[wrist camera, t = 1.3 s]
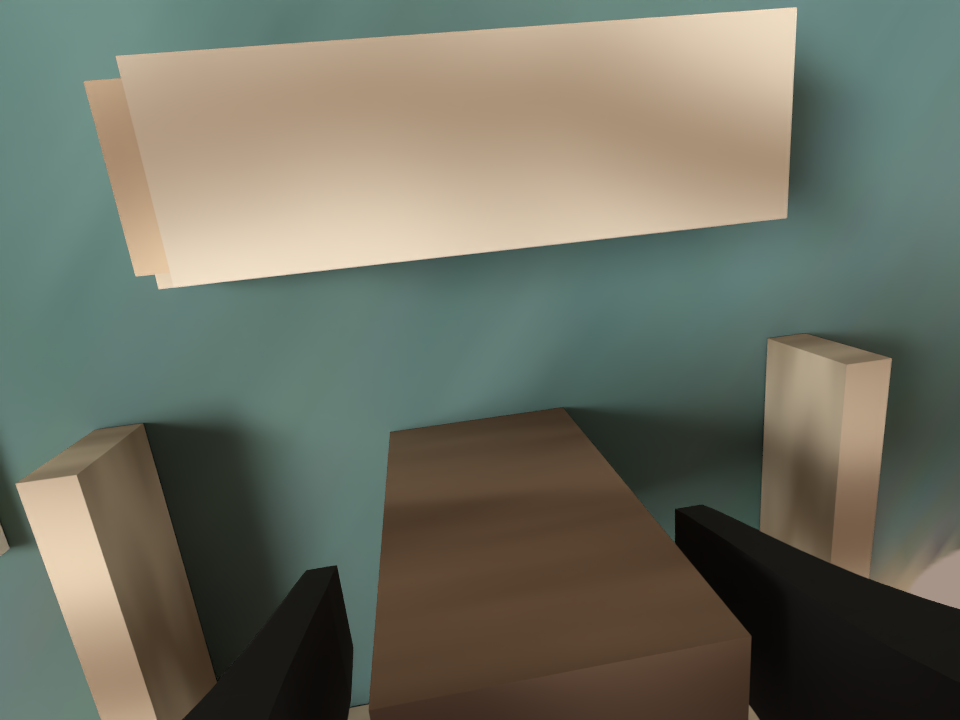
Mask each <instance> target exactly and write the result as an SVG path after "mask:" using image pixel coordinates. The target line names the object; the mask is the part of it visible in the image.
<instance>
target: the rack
mask: <svg viewBox="0 0 960 720" xmlns="http://www.w3.org/2000/svg"><path fill="white" fill-rule="evenodd" d="M891 362H892V358H889V357H886V356H882V355H879V354H875V353H872V352H868V351H865V350H861V349H858V348H854V347H851V346H847V345H844V344H841V343H837V342H834V341H830V340H827V339H823V338H820V337H816V336H813V335H809V334H806V333H804V334H797V335H789V336H782V337H775V338H768V342H767V367H766V392H765V416H764V441H763V465H762V490H761V515H760V531H761V532H763V533H765V534H767V535H769V536H771V537H774V538H776V539H778V540H780V541H782V542H784V543H786V544H788V545H791V546H793V547H795V548H797V549H799V550H802V551H804V552H806V553H808V554H810V555H813V556H815V557H817V558H820V559H822V560H824V561H827V562H829V563H831V564H834V565H836V566H839V567H841V568H843V569H846V570H848V571H851V572H853V573H855V574H858V575H860V576H863V577H866V578H868V579H869V573H870V564H871V554H872V544H873V535H874V525H875V515H876V506H877V496H878V487H879V477H880V467H881V458H882V448H883V439H884V429H885V419H886V410H887V400H888V391H889V381H890V371H891ZM16 487H17V490H18V492H19V495H20V498H21V501H22V503H23V506H24V509H25V512H26V514H27V517H28V520H29V523H30V525H31V528H32V531H33V534H34V536H35V539H36V542H37V545H38V547H39V550H40V553H41V556H42V558H43V561H44V564H45V567H46V569H47V572H48V575H49V578H50V580H51V583H52V586H53V589H54V591H55V594H56V597H57V600H58V602H59V605H60V608H61V611H62V613H63V616H64V619H65V622H66V624H67V627H68V630H69V633H70V635H71V638H72V641H73V644H74V646H75V649H76V652H77V655H78V657H79V660H80V663H81V666H82V668H83V671H84V674H85V677H86V679H87V682H88V685H89V688H90V690H91V693H92V696H93V699H94V701H95V704H96V707H97V710H98V712H99V715H100V718H101V720H182V719H183V718H184V717H185V716H186V715H187V714H188V713H189V712H190V711H191V710H192V709H193V708H194V707H195V706H196V705H197V704H198V703H199V702H200V701H201V700H202V699H203V697H204V696H205V695H206V694H207V693H208V692H209V691H210V690H211V689H212V688H213V687H214V685H215V684H216V683H217V681H216V677H215V674H214V670H213V667H212V663H211V660H210V656H209V653H208V649H207V646H206V642H205V638H204V635H203V631H202V628H201V624H200V621H199V617H198V614H197V610H196V607H195V603H194V600H193V596H192V593H191V589H190V586H189V582H188V579H187V575H186V572H185V568H184V565H183V561H182V558H181V554H180V551H179V547H178V544H177V540H176V537H175V533H174V530H173V526H172V523H171V519H170V516H169V512H168V509H167V505H166V502H165V498H164V495H163V491H162V488H161V484H160V481H159V477H158V474H157V470H156V467H155V463H154V460H153V456H152V453H151V449H150V445H149V442H148V438H147V435H146V431H145V428H144V424H143V423H141V424H134V425H127V426H119V427H112V428H104V429H97V430H94V431H92V432H91V433H89V434H88V435H87V436H85V437H84V438H82V439H81V440H79V441H78V442H76V443H75V444H73V445H72V446H70V447H69V448H67V449H66V450H64V451H63V452H61V453H60V454H59V455H57V456H56V457H54V458H53V459H51V460H50V461H48V462H47V463H45V464H44V465H42V466H41V467H39V468H38V469H36V470H35V471H33V472H32V473H30V474H29V475H28V476H26V477H25V478H23V479H22V480H20V481H19V482H17V483H16ZM348 720H370V715H369V704H368V705H363V706H358V707H353V708H349V715H348ZM748 720H760V719H759V718H758V717H757V715H756V714H755V712H754V711H753V710H752V708H751V707H750V705H749V714H748Z"/></svg>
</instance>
